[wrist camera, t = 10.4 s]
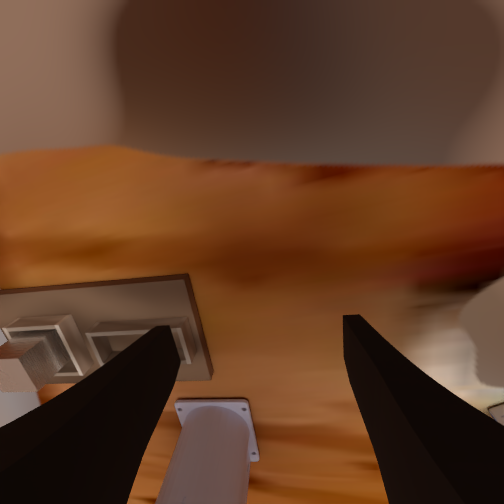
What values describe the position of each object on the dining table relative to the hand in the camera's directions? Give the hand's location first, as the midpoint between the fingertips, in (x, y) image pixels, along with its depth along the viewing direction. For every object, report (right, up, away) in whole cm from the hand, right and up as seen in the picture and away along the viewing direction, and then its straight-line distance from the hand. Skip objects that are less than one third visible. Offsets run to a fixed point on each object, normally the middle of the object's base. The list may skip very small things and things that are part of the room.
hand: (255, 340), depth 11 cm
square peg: (-19, -5, +14) cm, 24 cm away
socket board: (-15, -4, +15) cm, 21 cm away
